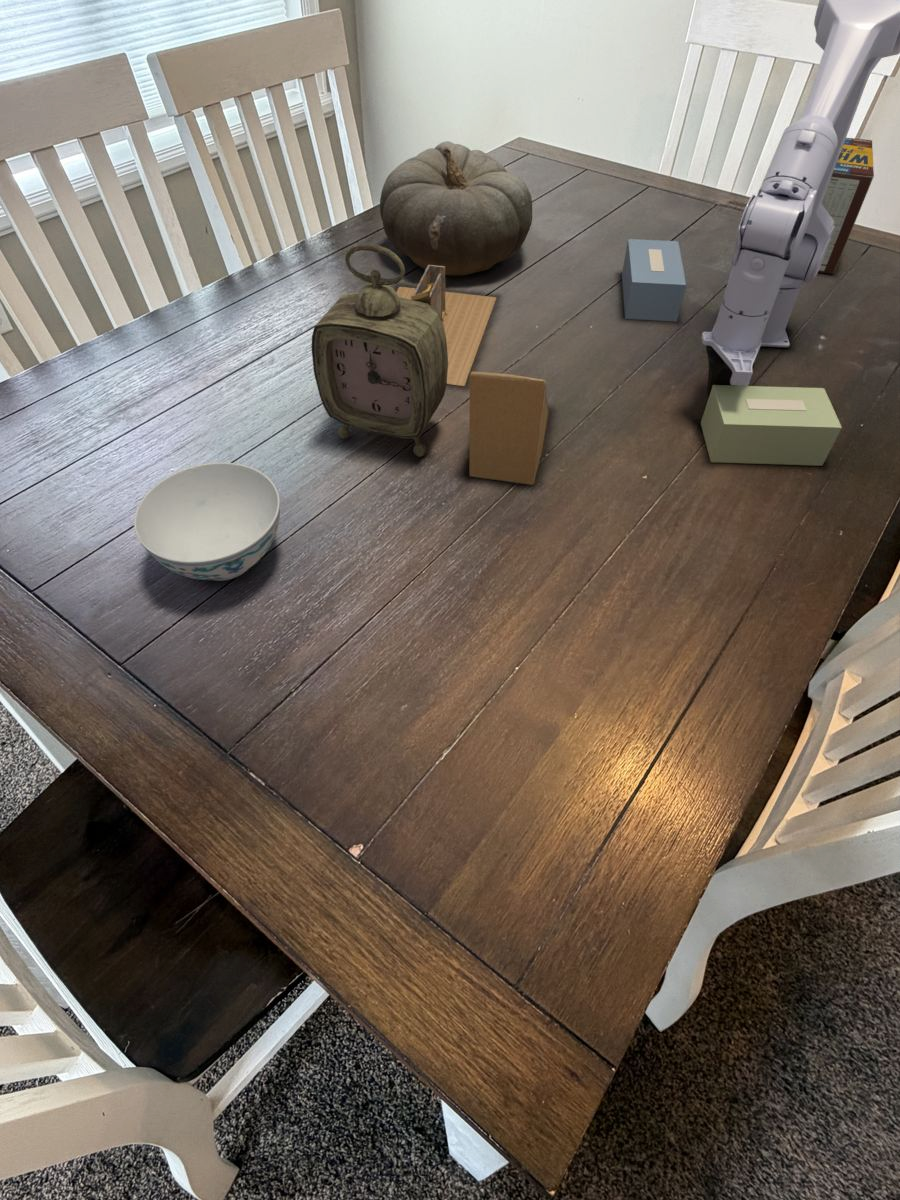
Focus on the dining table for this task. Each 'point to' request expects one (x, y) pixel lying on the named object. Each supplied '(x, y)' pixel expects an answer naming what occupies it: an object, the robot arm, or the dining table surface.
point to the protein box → (846, 195)
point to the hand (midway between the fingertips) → (715, 400)
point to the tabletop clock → (380, 358)
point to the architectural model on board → (432, 288)
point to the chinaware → (209, 520)
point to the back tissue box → (653, 280)
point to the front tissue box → (769, 425)
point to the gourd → (455, 209)
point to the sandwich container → (506, 426)
